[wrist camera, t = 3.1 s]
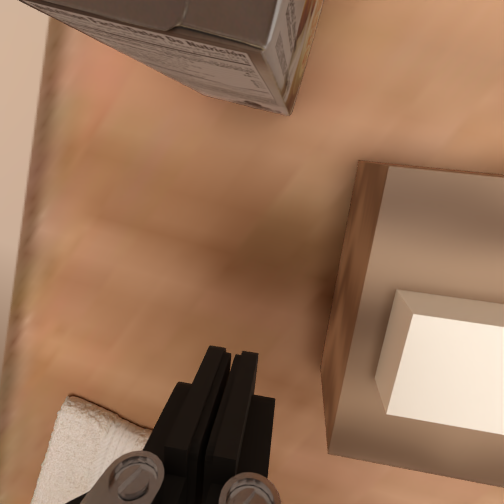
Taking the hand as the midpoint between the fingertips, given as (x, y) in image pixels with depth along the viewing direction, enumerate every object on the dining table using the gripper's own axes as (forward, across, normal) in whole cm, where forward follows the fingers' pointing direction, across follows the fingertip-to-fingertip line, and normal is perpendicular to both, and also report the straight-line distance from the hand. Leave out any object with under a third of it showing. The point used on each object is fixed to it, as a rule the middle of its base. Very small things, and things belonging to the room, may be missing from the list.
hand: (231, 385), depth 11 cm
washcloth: (+14, +14, +26) cm, 33 cm away
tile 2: (+6, -9, +1) cm, 11 cm away
